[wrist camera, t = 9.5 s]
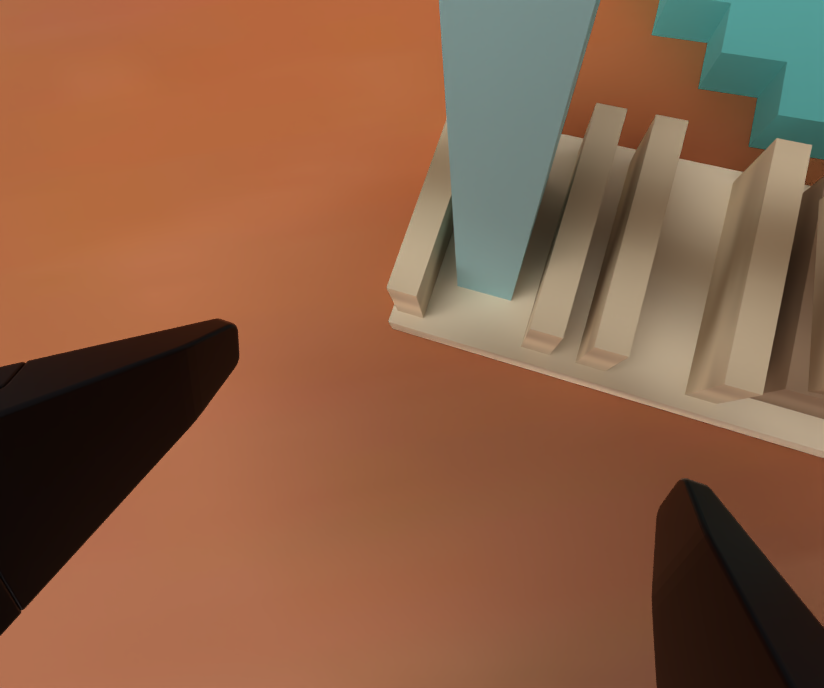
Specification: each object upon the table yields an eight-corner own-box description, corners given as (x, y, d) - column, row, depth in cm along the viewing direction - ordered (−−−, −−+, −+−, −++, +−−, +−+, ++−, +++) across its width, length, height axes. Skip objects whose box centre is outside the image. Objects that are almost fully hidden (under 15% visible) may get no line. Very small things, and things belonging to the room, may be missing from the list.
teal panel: (511, 300, 17) (601, -21, 5) (457, 285, 17) (436, -47, 6) (547, 179, 18) (694, -324, 6) (496, 167, 18) (545, -329, 7)
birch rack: (919, 486, 15) (1048, 496, 12) (392, 328, 18) (375, 300, 15) (952, 235, 17) (1074, 180, 13) (461, 129, 20) (460, 63, 17)
